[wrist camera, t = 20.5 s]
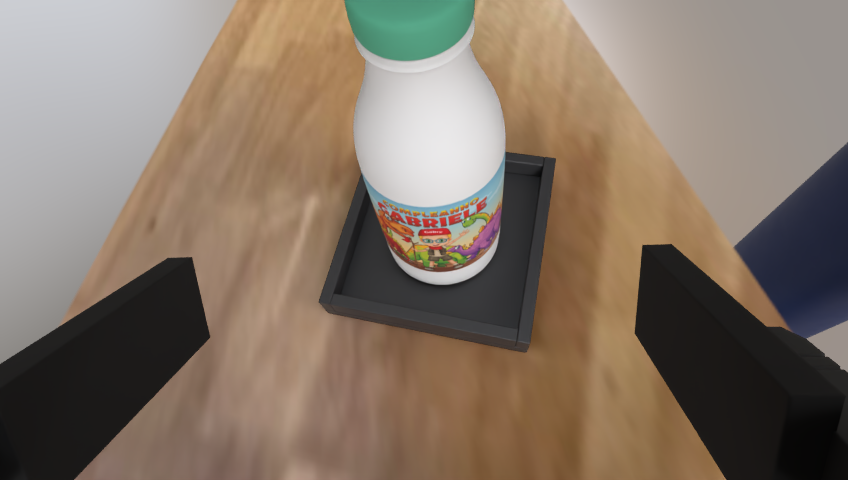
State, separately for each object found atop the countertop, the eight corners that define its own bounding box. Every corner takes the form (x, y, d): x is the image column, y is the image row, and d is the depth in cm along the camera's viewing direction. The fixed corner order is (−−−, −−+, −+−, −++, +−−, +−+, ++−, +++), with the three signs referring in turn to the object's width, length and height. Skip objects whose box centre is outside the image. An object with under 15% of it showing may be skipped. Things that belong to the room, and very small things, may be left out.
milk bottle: (379, 205, 36) (284, -61, 19) (480, 179, 37) (482, -111, 19) (402, 301, 33) (312, 86, 15) (513, 271, 33) (555, 24, 15)
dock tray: (551, 175, 37) (556, 157, 35) (526, 353, 31) (530, 344, 29) (379, 152, 40) (373, 134, 37) (327, 312, 34) (318, 302, 32)
